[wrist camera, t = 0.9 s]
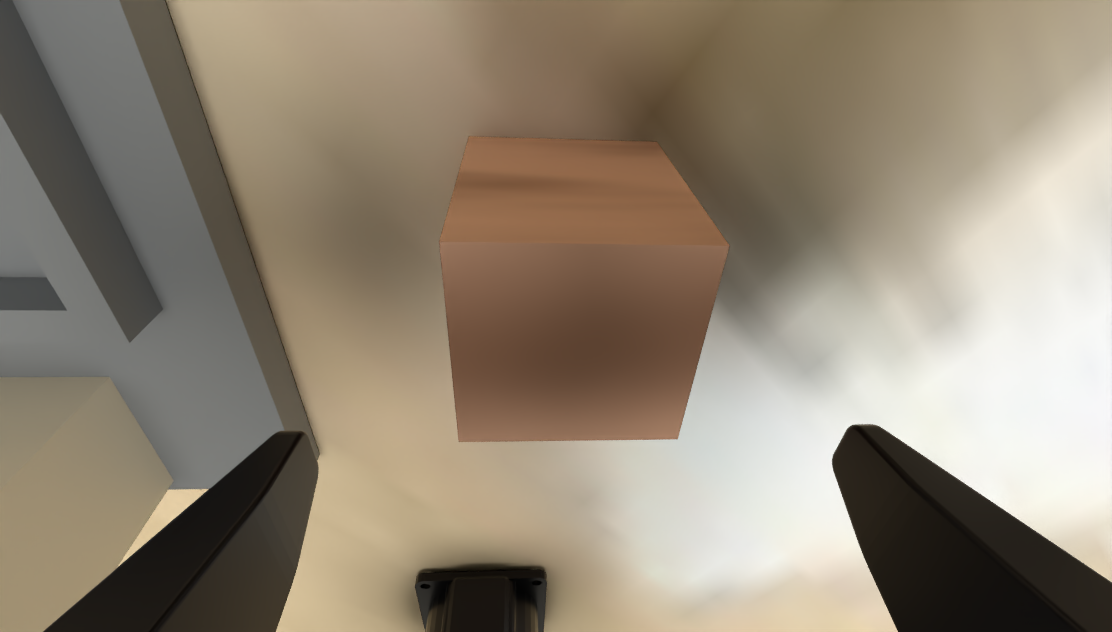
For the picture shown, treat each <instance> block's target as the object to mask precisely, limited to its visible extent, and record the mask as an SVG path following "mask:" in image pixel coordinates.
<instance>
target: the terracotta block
mask: <svg viewBox="0 0 1112 632" xmlns="http://www.w3.org/2000/svg"><path fill="white" fill-rule="evenodd" d="M439 245H440V255H441V266H442V276H443V286H444V296H445V306H446V317H447V327H448V337H449V347H450V358H451V368H452V378H453V388H454V398H455V409H456V419H457V429H458V439H459V442H490V441H570V440H651V439H678V436H679V432H680V428H681V425H682V421H683V417H684V413H685V410H686V406H687V402H688V399H689V395H690V391H691V387H692V384H693V380H694V376H695V373H696V369H697V365H698V361H699V358H700V354H701V350H702V347H703V343H704V339H705V335H706V332H707V328H708V324H709V321H710V317H711V313H712V310H713V306H714V302H715V298H716V295H717V291H718V287H719V284H720V280H721V276H722V272H723V269H724V265H725V261H726V258H727V254H728V250H729V244H728V243H727V241H726V240H725V238H724V237H723V236H722V234H721V233H720V231H719V230H718V228H717V227H716V226H715V224H714V223H713V221H712V220H711V218H710V217H709V216H708V214H707V213H706V211H705V210H704V208H703V207H702V206H701V204H700V203H699V201H698V200H697V199H696V197H695V196H694V194H693V193H692V191H691V190H690V189H689V187H688V186H687V184H686V183H685V181H684V180H683V179H682V177H681V176H680V174H679V173H678V171H677V170H676V169H675V167H674V166H673V164H672V163H671V161H670V160H669V159H668V157H667V156H666V154H665V153H664V151H663V150H662V149H661V147H660V146H659V144H658V143H657V142H649V141H614V140H580V139H545V138H510V137H476V136H469V138H468V141H467V145H466V148H465V152H464V155H463V159H462V163H461V166H460V170H459V173H458V177H457V180H456V184H455V187H454V191H453V194H452V198H451V201H450V205H449V209H448V212H447V216H446V219H445V223H444V226H443V230H442V233H441V237H440V240H439Z"/></svg>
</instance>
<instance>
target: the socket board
mask: <svg viewBox="0 0 1112 632" xmlns="http://www.w3.org/2000/svg"><path fill="white" fill-rule="evenodd" d="M295 430H301V431H304V432H306V433H307V434H308V436H309V439H310V442H311V445H312V448H313V451H314V453H315V456H316V459H317V460H318V457H319V455H320V454H319V451H318V449H317V446H316V443H315V440H314V437H313V434H312V431H311V428H310V425H309V422H308V419H307V416H306V413H305V410H304V407H303V405H302V402H301V399H300V396H299V393H298V390H297V387H296V384H295V381H294V378H293V375H292V372H291V369H290V366H289V363H288V360H287V358H286V355H285V352H284V349H283V346H282V343H281V340H280V337H279V334H278V331H277V328H276V325H275V322H274V319H273V316H272V314H271V311H270V308H269V305H268V302H267V299H266V296H265V293H264V290H263V287H262V284H261V281H260V278H259V275H258V272H257V270H256V267H255V264H254V261H253V258H252V255H251V252H250V249H249V246H248V243H247V240H246V237H245V234H244V231H243V228H242V225H241V223H240V220H239V217H238V214H237V211H236V208H235V205H234V202H233V199H232V196H231V193H230V190H229V187H228V184H227V181H226V179H225V176H224V173H223V170H222V167H221V164H220V161H219V158H218V155H217V152H216V149H215V146H214V143H213V140H212V137H211V135H210V132H209V129H208V126H207V123H206V120H205V117H204V114H203V111H202V108H201V105H200V102H199V99H198V96H197V93H196V90H195V88H194V85H193V82H192V79H191V76H190V73H189V70H188V67H187V64H186V61H185V58H184V55H183V52H182V49H181V46H180V44H179V41H178V38H177V35H176V32H175V29H174V26H173V23H172V20H171V17H170V14H169V11H168V8H167V5H166V2H165V0H0V632H43V631H44V630H45V629H46V628H47V627H49V626H50V625H51V624H52V623H53V622H54V621H56V620H57V619H58V618H59V617H60V616H61V615H63V614H64V613H65V612H66V611H67V610H68V609H70V608H71V607H72V606H73V605H74V604H75V603H77V602H78V601H79V600H80V599H81V598H83V597H84V596H85V595H86V594H87V593H88V592H90V591H91V590H92V589H93V588H94V587H95V586H97V585H98V584H99V583H100V582H101V581H102V580H104V579H105V578H106V577H107V576H108V575H109V574H111V573H112V572H113V571H114V570H115V569H116V568H117V567H118V565H119V564H120V562H121V561H122V559H123V557H124V556H125V554H126V553H127V551H128V550H129V548H130V547H131V545H132V544H133V542H134V541H135V539H136V538H137V536H138V535H139V533H140V531H141V530H142V528H143V527H144V525H145V524H146V522H147V521H148V519H149V518H150V516H151V515H152V513H153V512H154V510H155V509H156V507H157V506H158V504H159V502H160V501H161V499H162V498H163V496H164V495H165V493H166V492H167V490H168V489H210V488H211V487H212V486H213V485H215V484H216V483H217V482H218V481H219V480H220V479H222V478H223V477H224V476H225V475H226V474H227V473H229V472H230V471H231V470H232V469H233V468H234V467H236V466H237V465H238V464H239V463H240V462H241V461H243V460H244V459H245V458H246V457H247V456H248V455H250V454H251V453H252V452H253V451H254V450H255V449H257V448H258V447H259V446H260V445H261V444H262V443H264V442H265V441H266V440H267V439H268V438H269V437H271V436H272V435H273V434H275V433H276V432H279V431H295Z"/></svg>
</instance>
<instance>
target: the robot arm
mask: <svg viewBox="0 0 1112 632" xmlns="http://www.w3.org/2000/svg"><path fill="white" fill-rule="evenodd" d="M832 466H833V471H834V474H835V477H836V479H837V482H838V485H839V488H840V491H841V494H842V497H843V500H844V503H845V505H846V508H847V511H848V514H849V517H850V520H851V523H852V526H853V529H854V531H855V534H856V537H857V540H858V543H859V545H860V548H861V551H862V553H863V556H864V558H865V560H866V563H867V565H868V567H869V570H870V572H871V574H872V576H873V578H874V581H875V583H876V585H877V587H878V589H879V591H880V594H881V596H882V598H883V600H884V602H885V604H886V607H887V609H888V611H889V613H890V615H891V617H892V620H893V622H894V624H895V626H896V628H897V630H898V632H1112V582H1110V581H1109V580H1107V579H1106V578H1104V577H1103V576H1101V575H1100V574H1098V573H1097V572H1096V571H1094V570H1093V569H1091V568H1090V567H1088V566H1087V565H1085V564H1084V563H1082V562H1081V561H1079V560H1078V559H1076V558H1075V557H1073V556H1072V555H1070V554H1069V553H1067V552H1066V551H1064V550H1063V549H1061V548H1060V547H1058V546H1057V545H1055V544H1054V543H1052V542H1051V541H1049V540H1048V539H1046V538H1045V537H1043V536H1042V535H1040V534H1039V533H1037V532H1036V531H1034V530H1033V529H1032V528H1030V527H1029V526H1027V525H1026V524H1024V523H1023V522H1021V521H1020V520H1018V519H1017V518H1015V517H1014V516H1012V515H1011V514H1009V513H1008V512H1006V511H1005V510H1003V509H1002V508H1000V507H999V506H997V505H996V504H994V503H993V502H991V501H990V500H988V499H987V498H985V497H984V496H982V495H981V494H979V493H978V492H976V491H975V490H973V489H972V488H971V487H969V486H968V485H966V484H965V483H963V482H962V481H960V480H959V479H957V478H956V477H954V476H953V475H951V474H950V473H948V472H947V471H945V470H944V469H942V468H941V467H939V466H938V465H936V464H935V463H933V462H932V461H930V460H929V459H927V458H926V457H924V456H923V455H921V454H920V453H918V452H917V451H915V450H914V449H912V448H911V447H909V446H908V445H907V444H905V443H904V442H902V441H901V440H899V439H898V438H896V437H895V436H893V435H892V434H890V433H889V432H887V431H886V430H884V429H883V428H881V427H879V426H877V425H873V424H859V425H852V426H850V427H849V428H848V429H847V430H846V432H845V434H844V436H843V438H842V439H841V441H840V443H839V445H838V447H837V449H836V450H835V452H834V454H833V458H832ZM317 479H318V462H317V459H316V456H315V453H314V451H313V448H312V445H311V442H310V439H309V436H308V434H307V433H306V432H304V431H301V430H295V431H279V432H276V433H275V434H273V435H272V436H271V437H269V438H268V439H267V440H266V441H265V442H264V443H262V444H261V445H260V446H259V447H258V448H257V449H255V450H254V451H253V452H252V453H251V454H250V455H248V456H247V457H246V458H245V459H244V460H243V461H241V462H240V463H239V464H238V465H237V466H236V467H234V468H233V469H232V470H231V471H230V472H229V473H227V474H226V475H225V476H224V477H223V478H222V479H220V480H219V481H218V482H217V483H216V484H215V485H213V486H212V487H211V488H210V489H209V490H208V491H206V492H205V493H204V494H203V495H202V496H201V497H199V498H198V499H197V500H196V501H195V502H194V503H192V504H191V505H190V506H189V507H188V508H187V509H185V510H184V511H183V512H182V513H181V514H180V515H178V516H177V517H176V518H175V519H174V520H172V521H171V522H170V523H169V524H168V525H167V526H165V527H164V528H163V529H162V530H161V531H160V532H158V533H157V534H156V535H155V536H154V537H153V538H151V539H150V540H149V541H148V542H147V543H146V544H144V545H143V546H142V547H141V548H140V549H139V550H137V551H136V552H135V553H134V554H133V555H132V556H130V557H129V558H128V559H127V560H126V561H125V562H123V563H122V564H121V565H120V566H119V567H118V568H116V569H115V570H114V571H113V572H112V573H111V574H109V575H108V576H107V577H106V578H105V579H104V580H102V581H101V582H100V583H99V584H98V585H97V586H95V587H94V588H93V589H92V590H91V591H90V592H88V593H87V594H86V595H85V596H84V597H83V598H81V599H80V600H79V601H78V602H77V603H75V604H74V605H73V606H72V607H71V608H70V609H68V610H67V611H66V612H65V613H64V614H63V615H61V616H60V617H59V618H58V619H57V620H56V621H54V622H53V623H52V624H51V625H50V626H49V627H47V628H46V629H45V630H44V631H43V632H276V629H277V626H278V623H279V621H280V618H281V615H282V612H283V609H284V606H285V603H286V600H287V597H288V595H289V592H290V589H291V586H292V583H293V579H294V576H295V573H296V570H297V566H298V562H299V558H300V554H301V549H302V545H303V541H304V536H305V532H306V527H307V523H308V519H309V514H310V510H311V506H312V501H313V497H314V492H315V488H316V484H317ZM546 587H547V575H546V572H544V571H542V570H513V571H479V572H445V573H422V574H419V575H418V576H417V578H416V584H415V589H416V593H417V597H418V602H419V606H420V611H421V615H422V619H423V624H424V628H425V632H544V618H545V602H546Z"/></svg>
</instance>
